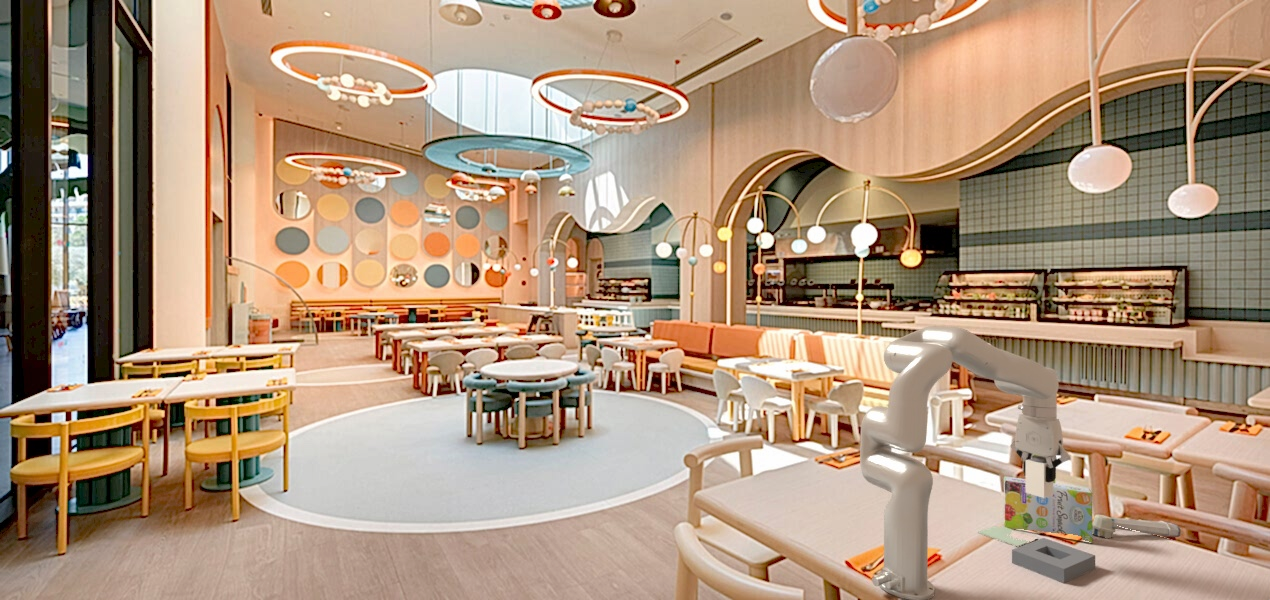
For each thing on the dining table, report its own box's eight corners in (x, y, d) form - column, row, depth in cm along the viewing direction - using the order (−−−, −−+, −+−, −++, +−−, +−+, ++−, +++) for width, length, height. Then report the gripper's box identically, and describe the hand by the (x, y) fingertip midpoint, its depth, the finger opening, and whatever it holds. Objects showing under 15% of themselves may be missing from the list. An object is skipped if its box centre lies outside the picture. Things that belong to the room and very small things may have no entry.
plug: (1043, 498, 148) (1044, 460, 148) (1025, 492, 152) (1025, 455, 152) (1053, 495, 150) (1053, 457, 150) (1034, 490, 154) (1034, 453, 154)
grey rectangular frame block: (1063, 583, 137) (1064, 569, 137) (1011, 562, 147) (1012, 549, 147) (1095, 568, 144) (1095, 555, 144) (1043, 550, 155) (1043, 537, 155)
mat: (1017, 547, 157) (1017, 545, 157) (978, 532, 166) (978, 531, 166) (1038, 539, 162) (1038, 538, 162) (998, 526, 172) (998, 524, 172)
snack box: (1089, 538, 164) (1089, 487, 164) (1092, 545, 159) (1092, 492, 159) (1003, 522, 175) (1003, 474, 175) (1004, 528, 170) (1004, 479, 170)
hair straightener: (1184, 526, 163) (1101, 515, 163) (1181, 549, 163) (1098, 537, 163) (1167, 519, 168) (1086, 508, 168) (1163, 541, 168) (1083, 530, 168)
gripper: (999, 407, 157) (999, 471, 157) (1067, 419, 142) (1067, 490, 142) (1014, 405, 161) (1014, 468, 161) (1082, 416, 145) (1082, 485, 145)
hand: (1039, 477), depth 151 cm, fingers closed on plug, 4 cm apart
